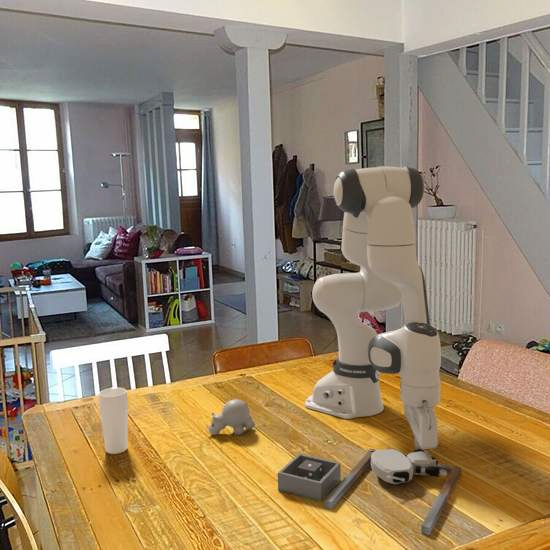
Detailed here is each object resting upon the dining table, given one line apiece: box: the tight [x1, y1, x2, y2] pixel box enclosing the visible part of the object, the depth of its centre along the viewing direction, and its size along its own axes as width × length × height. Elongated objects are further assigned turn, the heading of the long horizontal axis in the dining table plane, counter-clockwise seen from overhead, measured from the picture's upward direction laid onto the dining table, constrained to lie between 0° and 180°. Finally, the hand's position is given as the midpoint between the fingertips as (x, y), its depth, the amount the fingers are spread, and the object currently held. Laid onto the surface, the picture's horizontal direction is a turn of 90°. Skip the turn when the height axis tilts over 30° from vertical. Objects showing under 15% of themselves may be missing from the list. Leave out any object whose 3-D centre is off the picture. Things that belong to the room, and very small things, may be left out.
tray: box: [277, 453, 342, 503], centre depth 128 cm, size 10×10×4 cm
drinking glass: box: [98, 387, 129, 455], centre depth 146 cm, size 7×7×15 cm
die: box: [297, 460, 323, 481], centre depth 128 cm, size 4×4×4 cm
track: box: [324, 448, 462, 536], centre depth 126 cm, size 21×28×2 cm
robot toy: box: [365, 448, 448, 485], centre depth 131 cm, size 12×4×15 cm
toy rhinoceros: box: [205, 398, 256, 436], centre depth 156 cm, size 7×12×8 cm, turn 100°
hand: (419, 450), depth 140 cm, fingers closed
